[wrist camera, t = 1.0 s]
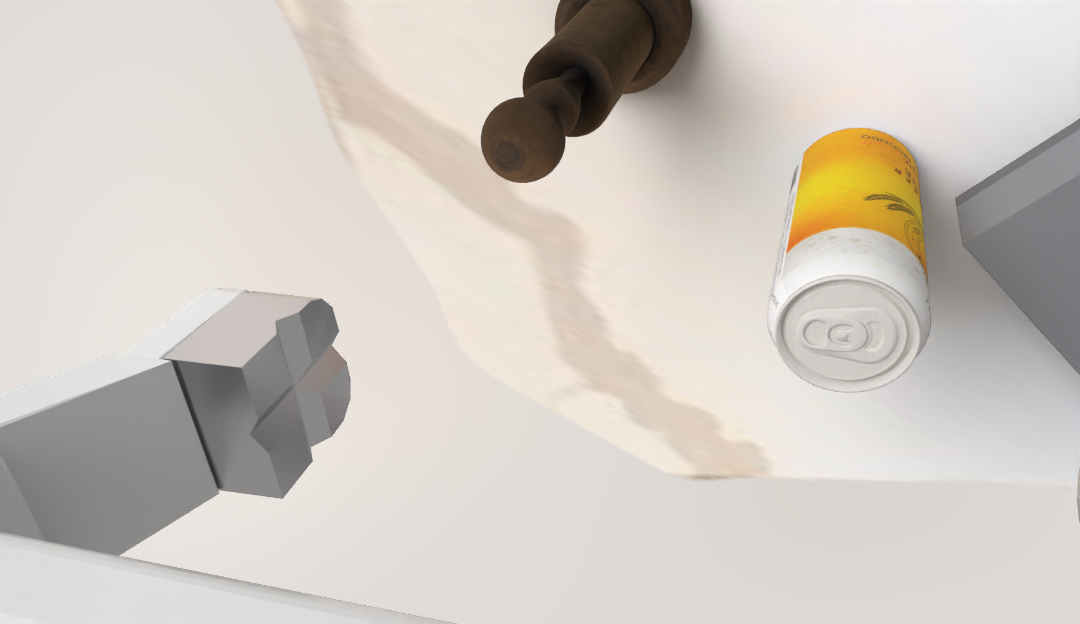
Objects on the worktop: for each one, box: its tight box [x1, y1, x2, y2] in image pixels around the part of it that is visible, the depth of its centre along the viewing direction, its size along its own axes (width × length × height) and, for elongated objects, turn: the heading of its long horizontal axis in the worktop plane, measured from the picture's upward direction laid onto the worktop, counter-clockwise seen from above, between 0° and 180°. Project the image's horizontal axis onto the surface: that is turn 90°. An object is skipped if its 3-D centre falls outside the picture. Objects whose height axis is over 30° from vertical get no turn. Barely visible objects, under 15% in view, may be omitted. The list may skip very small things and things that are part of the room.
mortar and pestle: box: [481, 0, 692, 183], centre depth 37 cm, size 7×6×18 cm
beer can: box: [767, 128, 931, 392], centre depth 39 cm, size 6×6×15 cm
